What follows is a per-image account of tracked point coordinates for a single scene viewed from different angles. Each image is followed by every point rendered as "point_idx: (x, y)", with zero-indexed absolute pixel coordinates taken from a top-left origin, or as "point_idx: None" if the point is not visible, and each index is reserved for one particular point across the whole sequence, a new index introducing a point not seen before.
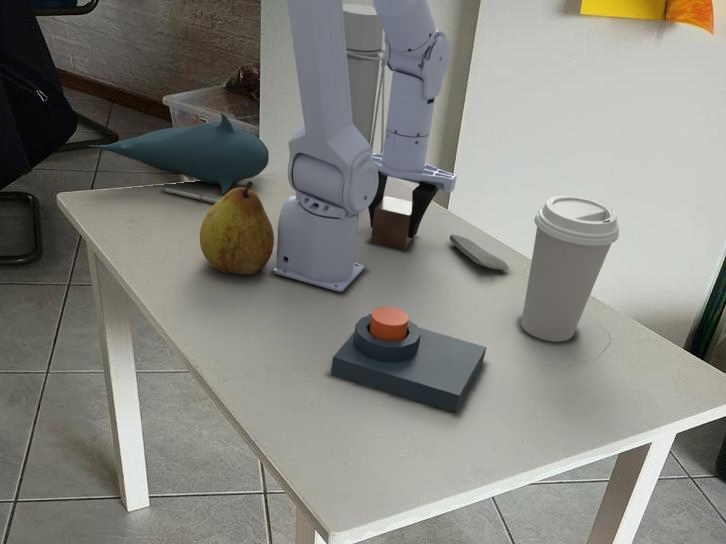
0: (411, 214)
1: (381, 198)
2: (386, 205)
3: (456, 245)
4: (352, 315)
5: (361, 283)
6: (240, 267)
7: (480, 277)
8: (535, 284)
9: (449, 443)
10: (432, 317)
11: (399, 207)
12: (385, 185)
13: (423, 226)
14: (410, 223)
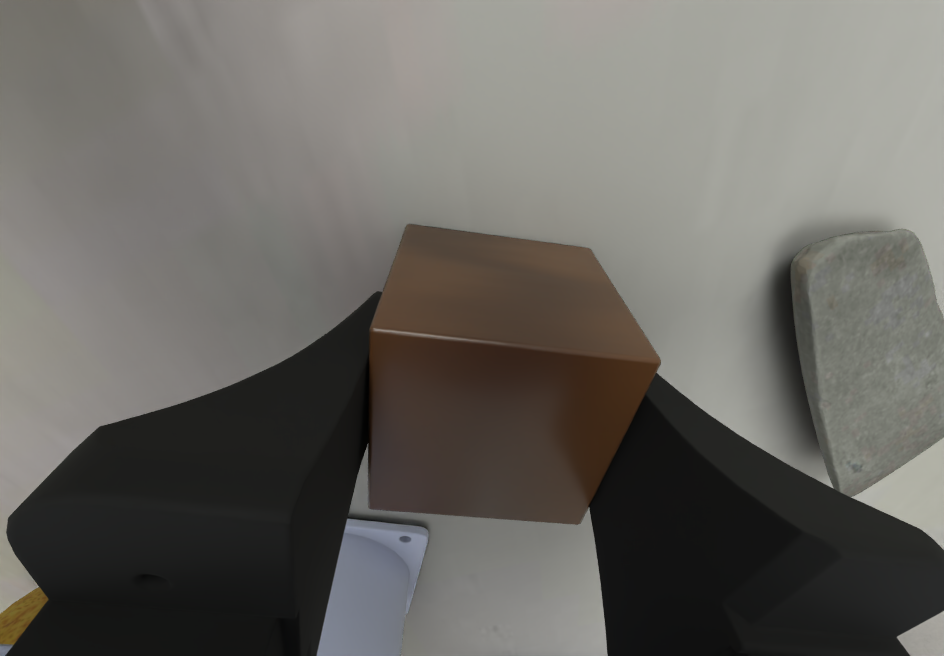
0: (590, 508)
1: (362, 393)
2: (427, 470)
3: (799, 351)
4: (451, 639)
5: (440, 566)
6: None
7: (808, 461)
8: None
9: None
10: None
11: (513, 465)
12: (344, 413)
13: (668, 38)
14: None
